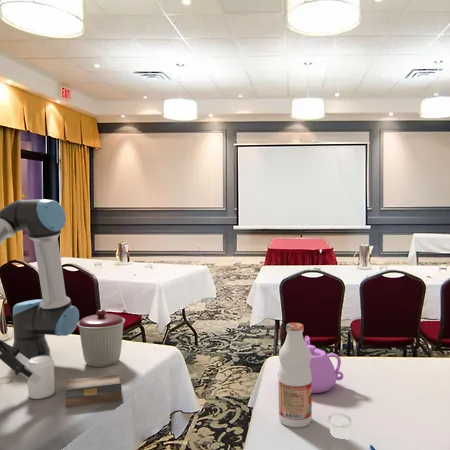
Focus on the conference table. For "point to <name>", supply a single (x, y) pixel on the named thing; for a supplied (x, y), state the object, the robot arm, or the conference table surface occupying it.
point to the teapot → (322, 369)
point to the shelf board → (93, 390)
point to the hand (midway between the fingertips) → (34, 373)
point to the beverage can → (42, 377)
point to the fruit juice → (295, 379)
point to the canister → (101, 338)
